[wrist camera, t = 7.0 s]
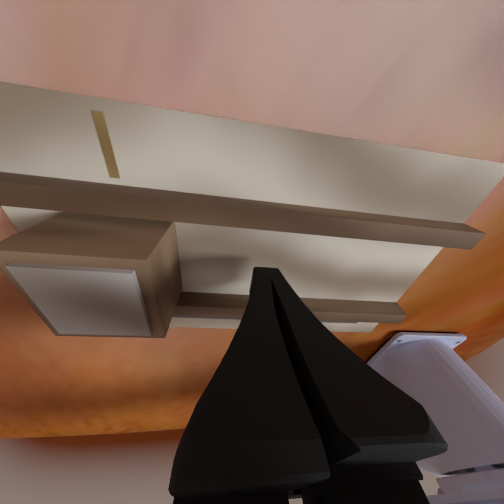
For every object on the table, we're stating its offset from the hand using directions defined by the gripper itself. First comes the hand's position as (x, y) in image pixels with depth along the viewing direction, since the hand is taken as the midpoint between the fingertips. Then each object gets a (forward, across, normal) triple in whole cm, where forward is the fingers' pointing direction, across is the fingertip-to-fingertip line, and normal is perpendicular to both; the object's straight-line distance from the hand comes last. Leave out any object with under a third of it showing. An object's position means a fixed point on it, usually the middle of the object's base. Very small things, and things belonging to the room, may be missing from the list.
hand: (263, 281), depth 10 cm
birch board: (+2, +1, 0) cm, 3 cm away
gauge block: (+2, +7, 0) cm, 8 cm away
